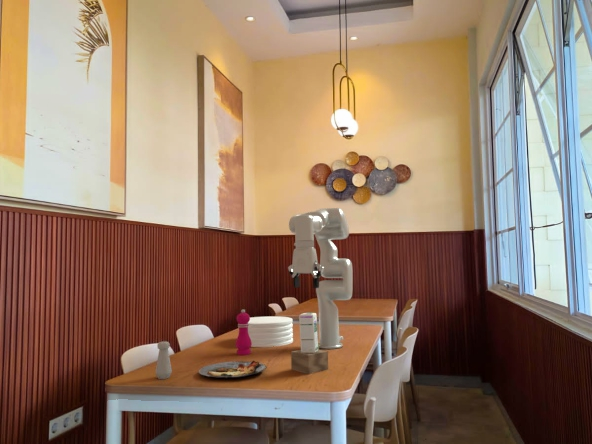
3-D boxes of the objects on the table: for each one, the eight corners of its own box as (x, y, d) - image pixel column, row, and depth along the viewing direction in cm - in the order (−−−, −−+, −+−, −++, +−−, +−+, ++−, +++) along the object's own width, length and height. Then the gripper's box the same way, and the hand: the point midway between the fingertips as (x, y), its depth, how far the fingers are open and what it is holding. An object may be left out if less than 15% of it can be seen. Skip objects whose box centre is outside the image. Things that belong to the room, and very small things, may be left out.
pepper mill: (254, 352, 212) (253, 308, 214) (247, 355, 206) (246, 310, 207) (240, 351, 215) (239, 308, 216) (233, 355, 208) (232, 310, 209)
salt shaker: (157, 376, 173) (157, 340, 174) (172, 375, 173) (172, 340, 174) (153, 380, 167) (153, 343, 168) (170, 379, 167) (169, 343, 168)
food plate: (273, 366, 183) (273, 357, 183) (255, 383, 160) (255, 372, 161) (214, 366, 189) (214, 357, 189) (189, 382, 166) (188, 372, 166)
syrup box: (315, 353, 174) (313, 314, 175) (300, 353, 176) (298, 314, 177) (318, 350, 180) (317, 312, 181) (304, 350, 181) (302, 312, 182)
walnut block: (310, 365, 184) (310, 347, 185) (328, 370, 177) (327, 351, 177) (291, 370, 178) (291, 351, 178) (308, 374, 170) (308, 355, 171)
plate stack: (292, 336, 254) (291, 315, 255) (293, 346, 226) (293, 322, 227) (241, 338, 253) (240, 317, 254) (236, 348, 225) (235, 324, 226)
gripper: (282, 246, 190) (283, 287, 189) (317, 244, 180) (318, 289, 179) (293, 245, 196) (294, 286, 195) (327, 244, 186) (329, 287, 185)
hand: (306, 287), depth 187 cm, fingers open, 9 cm apart
